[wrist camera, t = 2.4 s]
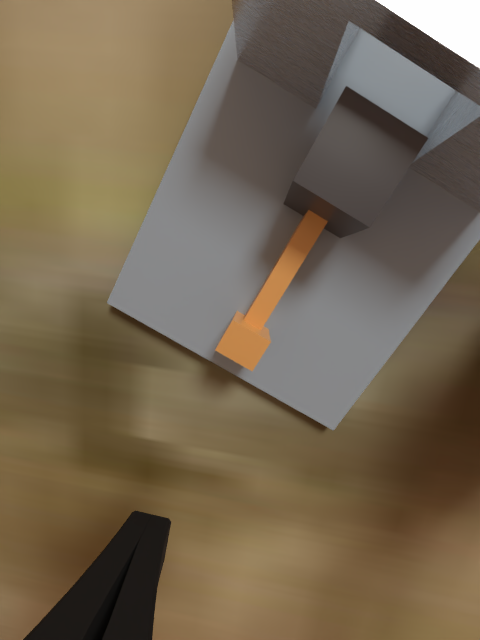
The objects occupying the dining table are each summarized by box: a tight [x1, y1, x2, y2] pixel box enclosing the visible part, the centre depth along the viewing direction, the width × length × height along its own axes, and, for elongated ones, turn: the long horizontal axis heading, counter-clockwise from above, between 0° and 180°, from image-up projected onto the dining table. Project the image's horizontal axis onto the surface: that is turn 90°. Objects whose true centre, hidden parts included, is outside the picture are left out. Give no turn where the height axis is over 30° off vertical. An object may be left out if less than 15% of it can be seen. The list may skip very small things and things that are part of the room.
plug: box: [215, 86, 428, 371], centre depth 13 cm, size 13×4×4 cm, turn 150°
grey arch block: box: [232, 0, 480, 212], centre depth 10 cm, size 6×16×6 cm, turn 60°
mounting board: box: [107, 20, 480, 430], centre depth 13 cm, size 39×18×1 cm, turn 150°
